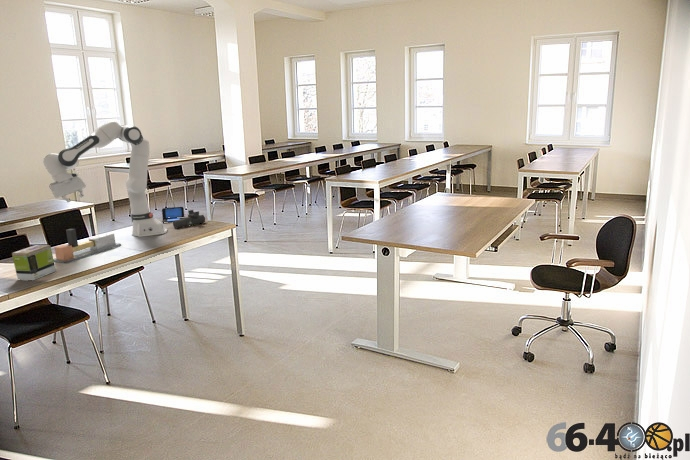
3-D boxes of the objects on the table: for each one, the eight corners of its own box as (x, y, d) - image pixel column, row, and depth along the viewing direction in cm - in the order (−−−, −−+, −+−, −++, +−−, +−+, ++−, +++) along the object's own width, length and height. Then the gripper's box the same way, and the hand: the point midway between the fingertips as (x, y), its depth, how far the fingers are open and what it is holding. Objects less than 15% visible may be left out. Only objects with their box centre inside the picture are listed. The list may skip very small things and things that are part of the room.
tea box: (41, 270, 278) (36, 244, 275) (56, 271, 275) (51, 244, 272) (16, 280, 264) (11, 252, 261) (32, 281, 261) (26, 252, 258)
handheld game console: (162, 224, 381) (160, 211, 378) (163, 220, 393) (161, 208, 391) (184, 221, 384) (183, 209, 382) (184, 218, 397) (183, 206, 395)
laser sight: (172, 227, 366) (170, 213, 364) (201, 221, 380) (200, 208, 378) (178, 229, 359) (176, 215, 357) (208, 223, 373) (206, 210, 371)
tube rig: (107, 244, 328) (105, 231, 326) (121, 245, 323) (119, 232, 321) (52, 261, 295) (49, 247, 293) (66, 263, 290) (64, 248, 288)
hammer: (96, 243, 317) (93, 222, 314) (101, 243, 315) (98, 222, 312) (59, 254, 295) (55, 232, 292) (64, 255, 293) (60, 232, 290)
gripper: (50, 182, 304) (63, 202, 306) (79, 172, 321) (92, 192, 323) (45, 186, 307) (58, 206, 309) (74, 177, 324) (87, 196, 326)
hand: (76, 199), depth 316 cm, fingers open, 8 cm apart
